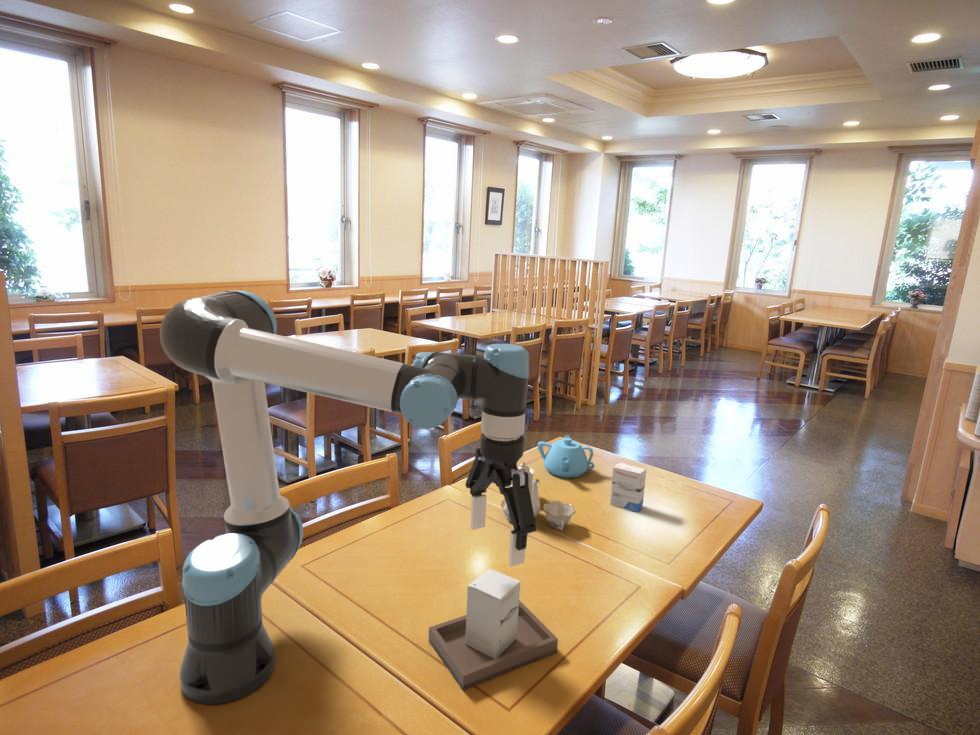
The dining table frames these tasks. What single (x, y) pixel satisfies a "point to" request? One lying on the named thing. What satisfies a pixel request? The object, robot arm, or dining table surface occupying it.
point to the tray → (480, 667)
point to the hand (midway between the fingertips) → (496, 544)
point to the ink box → (628, 487)
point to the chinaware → (554, 511)
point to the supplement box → (492, 613)
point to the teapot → (566, 458)
